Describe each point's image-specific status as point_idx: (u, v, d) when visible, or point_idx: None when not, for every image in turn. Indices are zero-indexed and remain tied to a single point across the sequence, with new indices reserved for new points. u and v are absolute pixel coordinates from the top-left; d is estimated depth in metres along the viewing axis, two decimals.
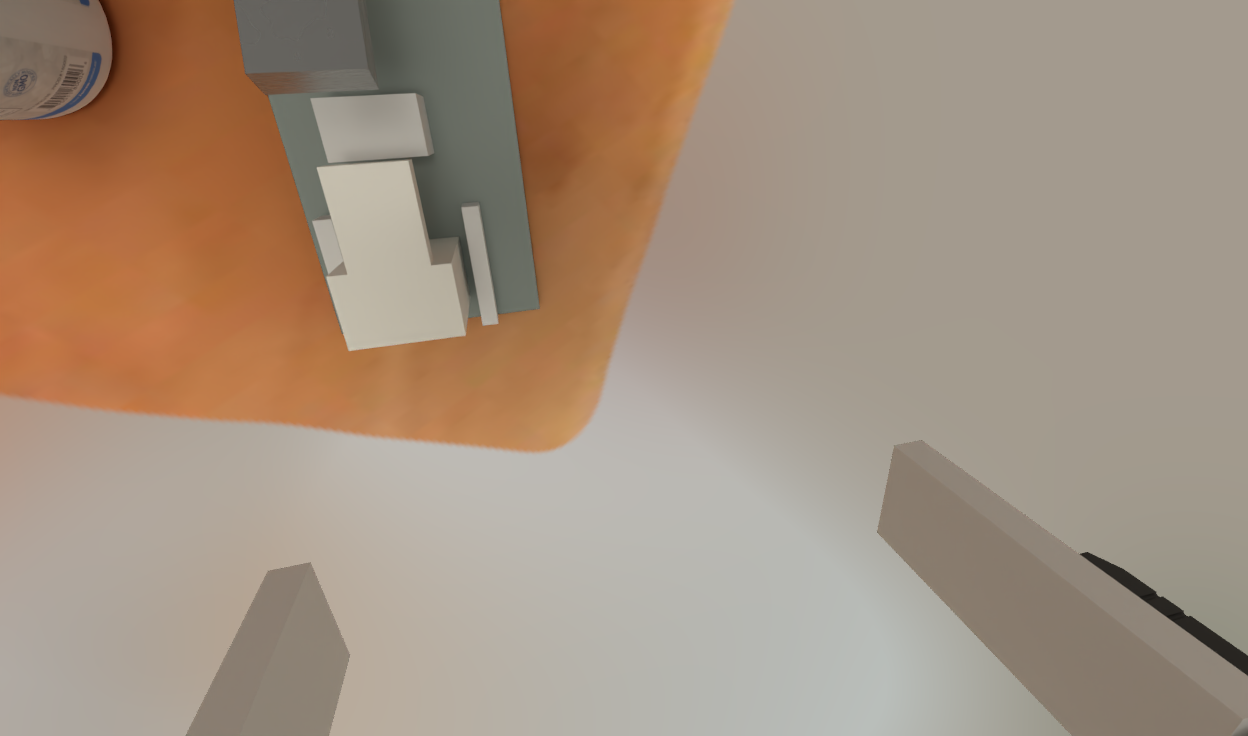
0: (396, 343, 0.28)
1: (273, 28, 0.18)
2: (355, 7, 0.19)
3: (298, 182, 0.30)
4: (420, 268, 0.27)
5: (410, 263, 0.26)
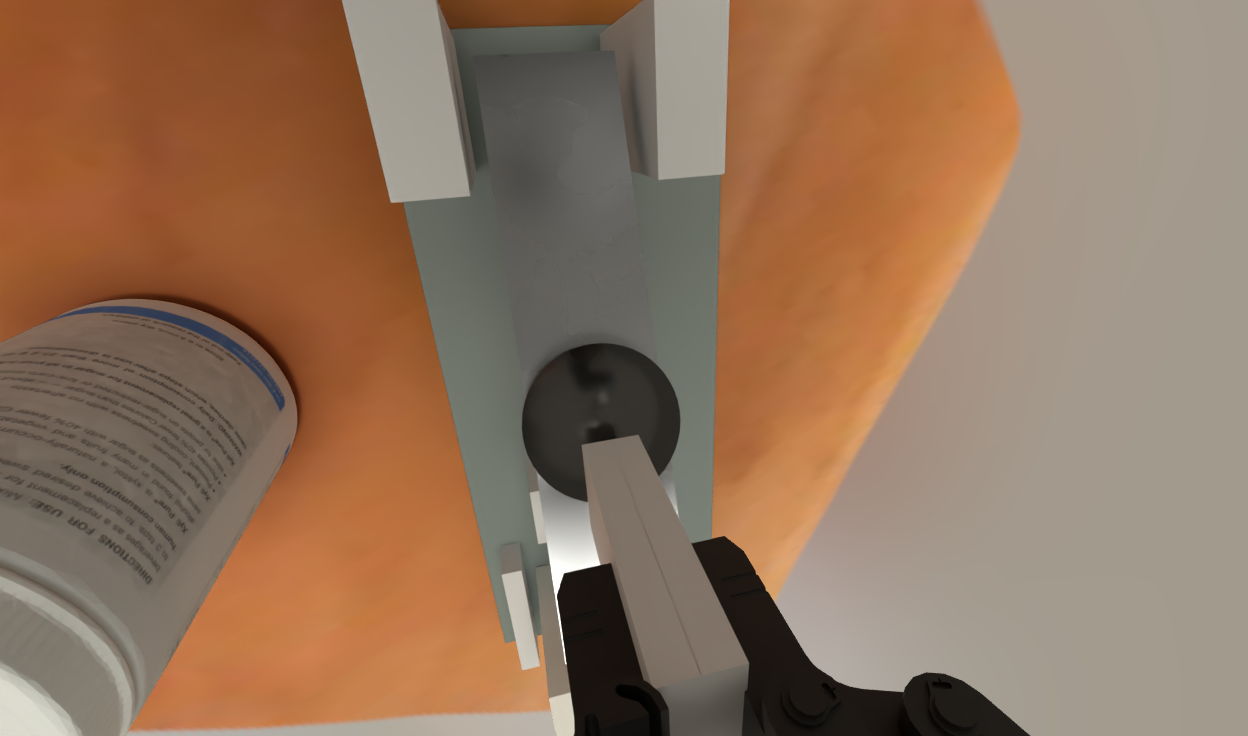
0: None
1: None
2: None
3: (480, 521, 0.27)
4: None
5: None
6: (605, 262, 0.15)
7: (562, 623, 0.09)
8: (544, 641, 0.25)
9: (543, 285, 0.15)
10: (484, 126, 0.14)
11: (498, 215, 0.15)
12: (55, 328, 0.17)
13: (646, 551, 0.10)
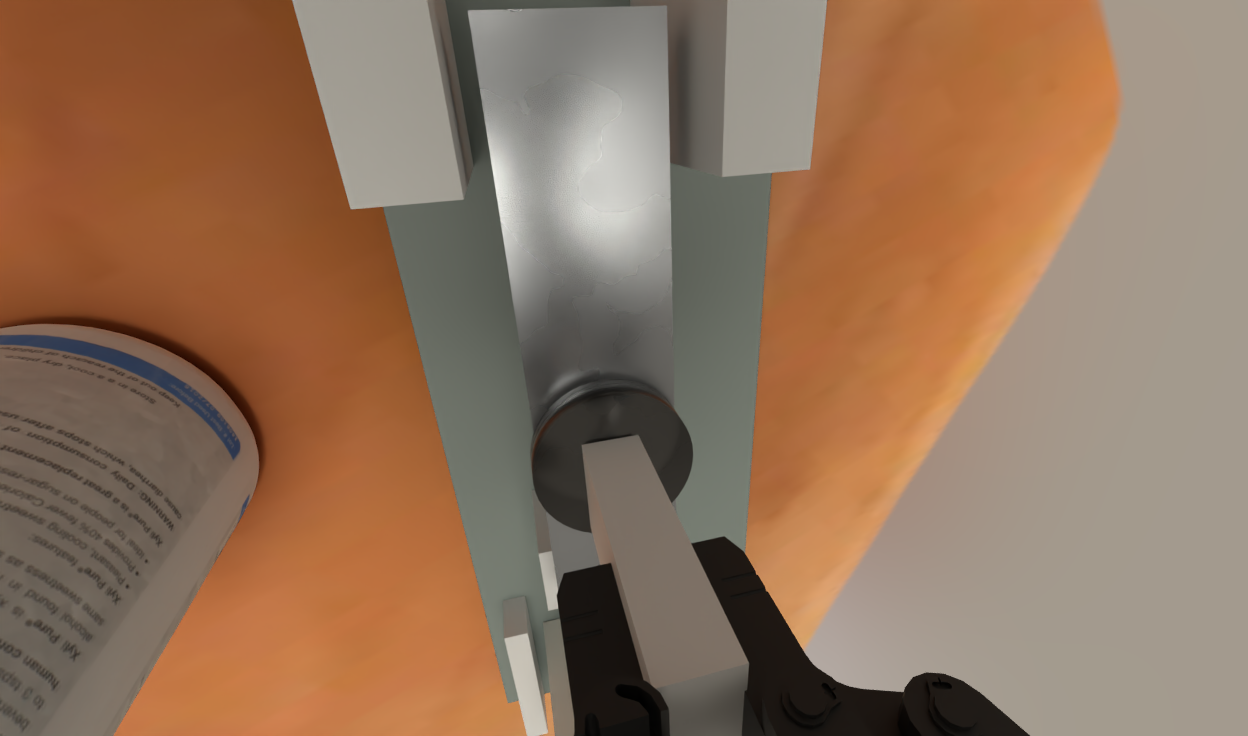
0: None
1: None
2: None
3: (479, 574, 0.23)
4: None
5: None
6: (629, 293, 0.13)
7: (562, 623, 0.09)
8: (555, 721, 0.21)
9: (557, 319, 0.13)
10: (486, 119, 0.11)
11: (505, 239, 0.12)
12: None
13: (646, 551, 0.10)
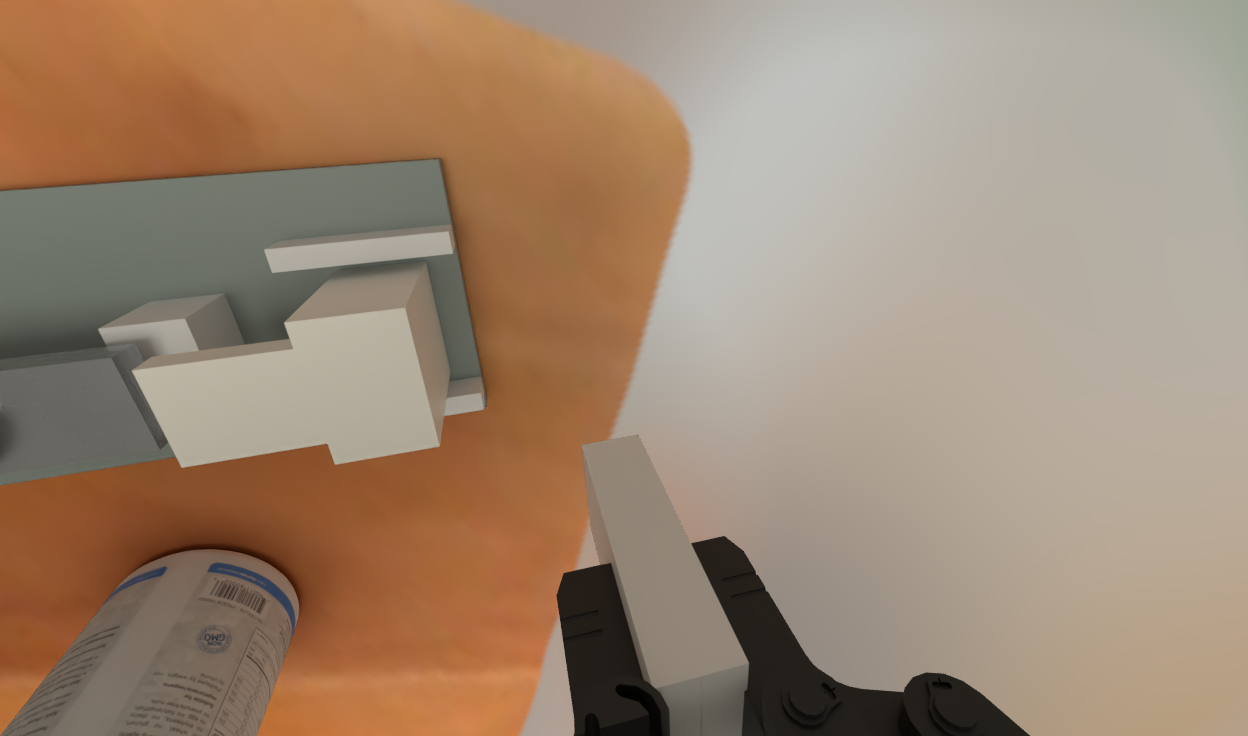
0: (425, 395, 0.20)
1: (100, 432, 0.20)
2: (41, 369, 0.18)
3: None
4: (300, 362, 0.19)
5: (295, 374, 0.19)
6: None
7: (562, 623, 0.09)
8: None
9: None
10: None
11: None
12: None
13: (646, 551, 0.10)
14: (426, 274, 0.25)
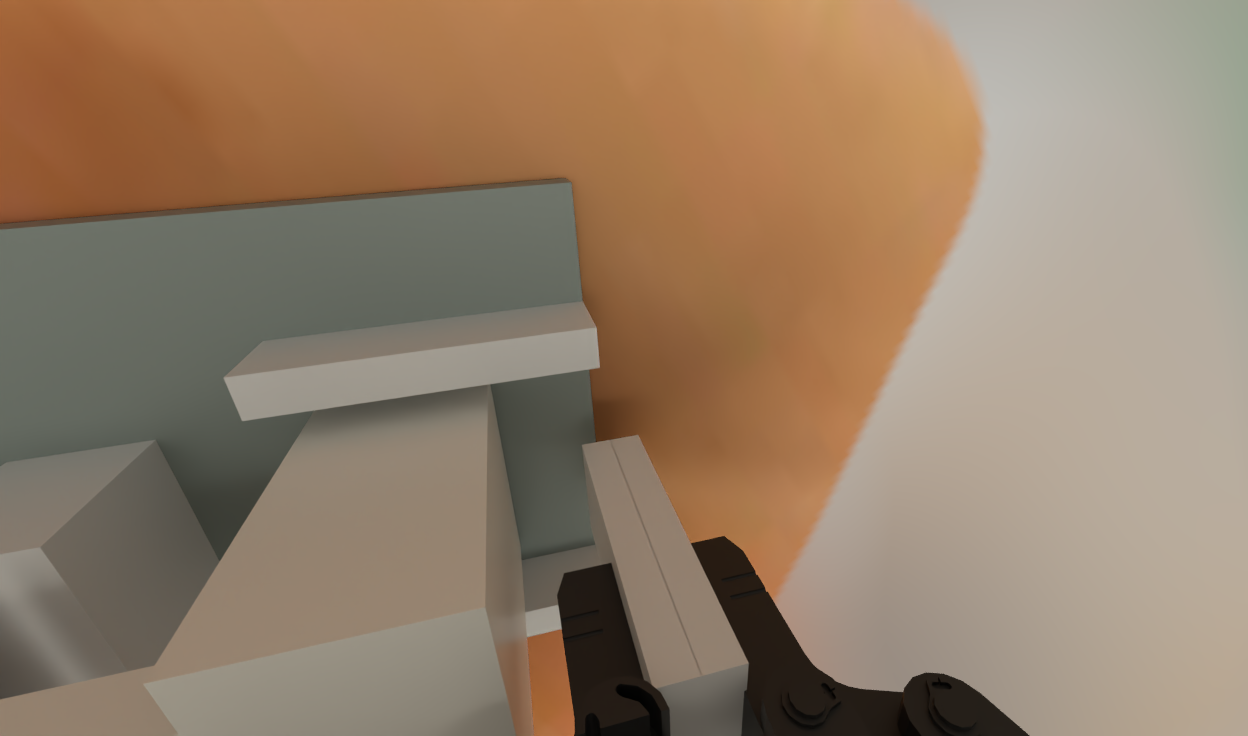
0: None
1: None
2: None
3: None
4: None
5: None
6: None
7: (563, 623, 0.09)
8: None
9: None
10: None
11: None
12: None
13: (646, 551, 0.10)
14: (491, 402, 0.13)
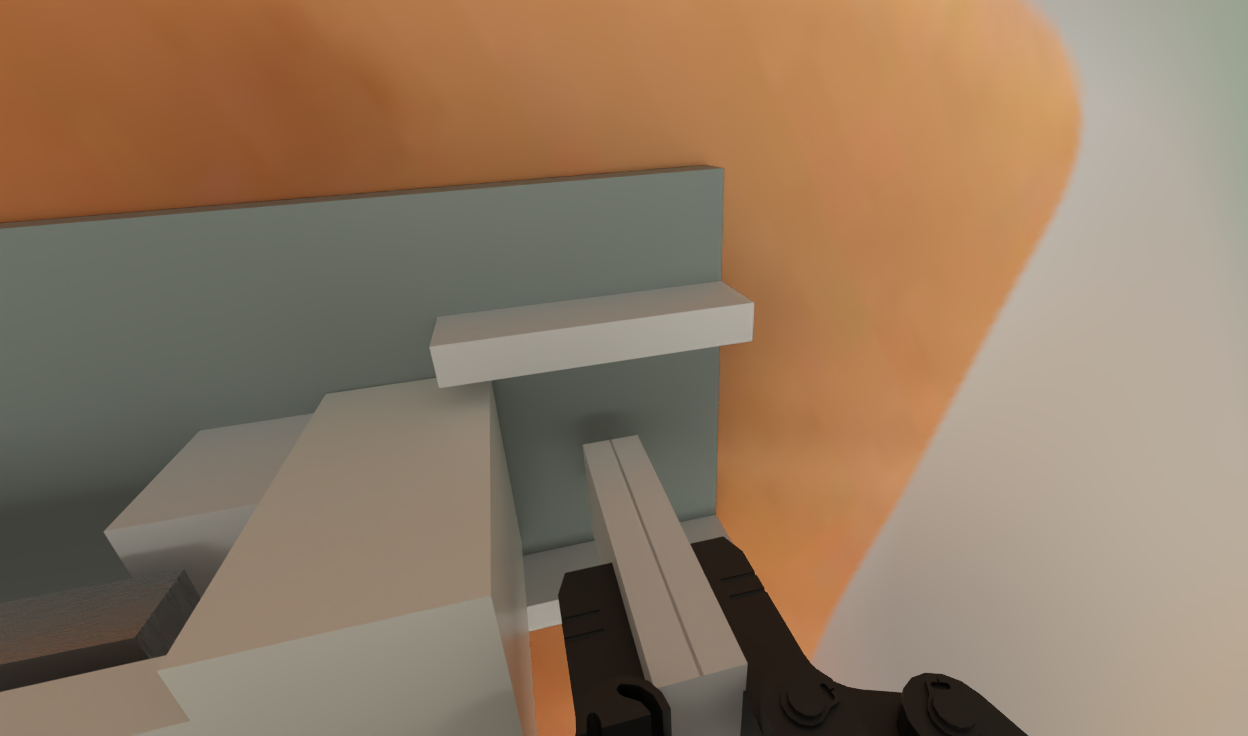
0: None
1: None
2: None
3: None
4: None
5: None
6: None
7: (564, 623, 0.09)
8: None
9: None
10: None
11: None
12: None
13: (647, 551, 0.10)
14: (492, 399, 0.13)
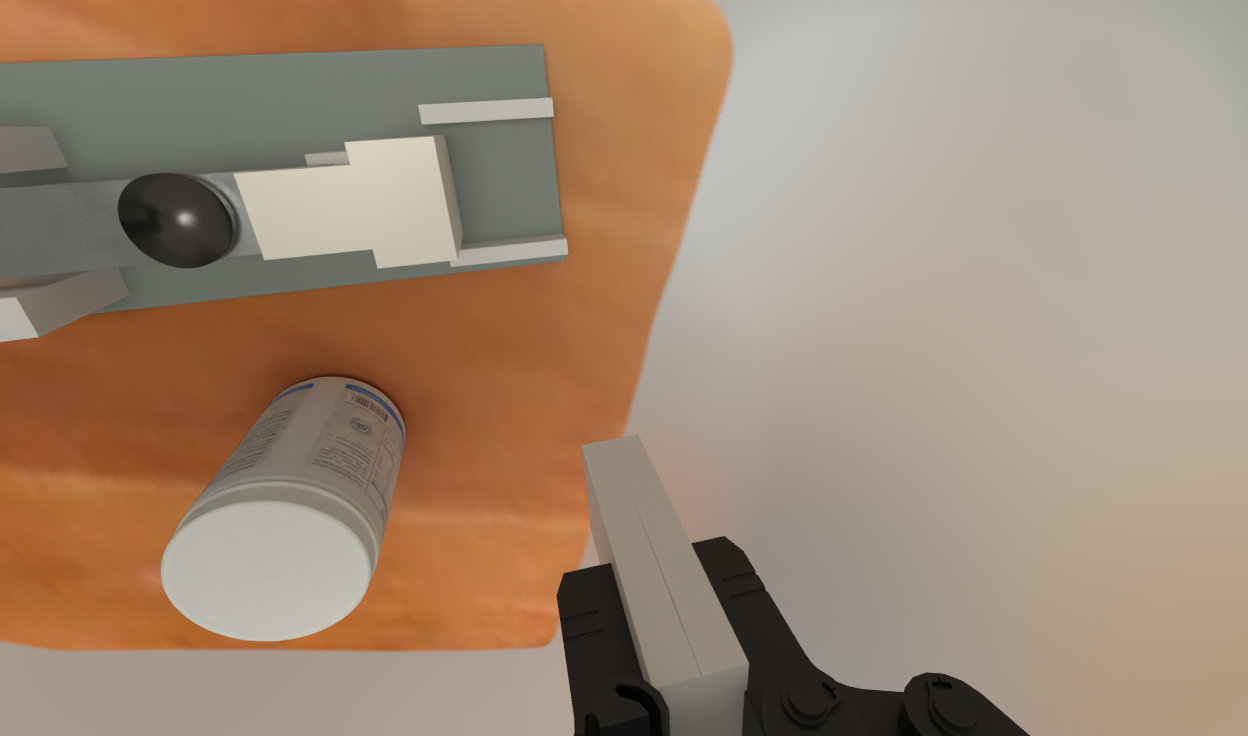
0: (447, 213, 0.27)
1: None
2: None
3: (424, 274, 0.35)
4: (355, 176, 0.25)
5: (351, 186, 0.25)
6: (72, 209, 0.25)
7: (562, 623, 0.09)
8: None
9: (102, 248, 0.25)
10: (5, 277, 0.25)
11: (63, 272, 0.26)
12: None
13: (646, 551, 0.10)
14: (445, 143, 0.31)
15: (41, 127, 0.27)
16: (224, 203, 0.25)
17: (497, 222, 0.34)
